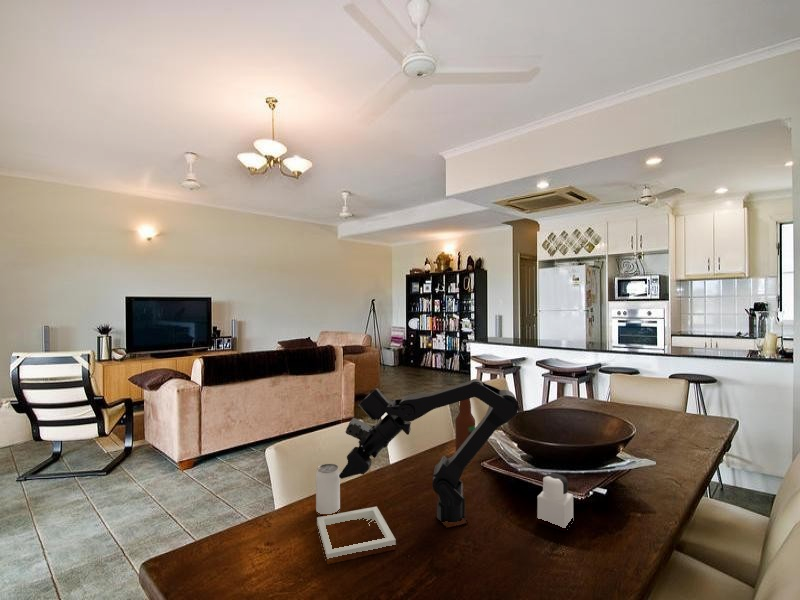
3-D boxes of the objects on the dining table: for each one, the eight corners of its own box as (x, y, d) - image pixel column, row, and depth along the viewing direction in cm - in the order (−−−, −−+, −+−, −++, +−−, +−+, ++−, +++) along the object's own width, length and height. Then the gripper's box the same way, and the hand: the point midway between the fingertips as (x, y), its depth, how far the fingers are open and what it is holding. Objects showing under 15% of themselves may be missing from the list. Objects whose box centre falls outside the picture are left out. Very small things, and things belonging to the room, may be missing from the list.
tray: (376, 515, 111) (376, 506, 111) (395, 550, 96) (395, 539, 96) (317, 527, 106) (316, 517, 106) (327, 565, 91) (326, 554, 91)
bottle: (476, 458, 150) (476, 389, 150) (456, 457, 150) (456, 389, 150) (473, 450, 157) (473, 385, 157) (454, 450, 157) (454, 385, 157)
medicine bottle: (546, 512, 112) (546, 468, 112) (573, 521, 108) (573, 475, 108) (536, 523, 107) (536, 477, 107) (564, 533, 102) (564, 485, 102)
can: (311, 515, 112) (311, 471, 111) (323, 503, 118) (322, 461, 118) (333, 518, 110) (333, 474, 110) (343, 506, 116) (343, 464, 116)
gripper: (371, 401, 121) (335, 436, 123) (354, 420, 103) (312, 461, 104) (397, 429, 120) (361, 464, 122) (385, 453, 102) (342, 494, 103)
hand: (345, 470), depth 113 cm, fingers open, 9 cm apart
